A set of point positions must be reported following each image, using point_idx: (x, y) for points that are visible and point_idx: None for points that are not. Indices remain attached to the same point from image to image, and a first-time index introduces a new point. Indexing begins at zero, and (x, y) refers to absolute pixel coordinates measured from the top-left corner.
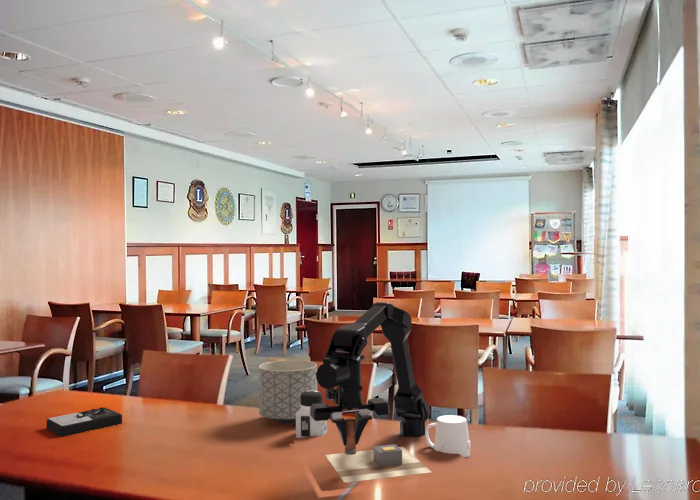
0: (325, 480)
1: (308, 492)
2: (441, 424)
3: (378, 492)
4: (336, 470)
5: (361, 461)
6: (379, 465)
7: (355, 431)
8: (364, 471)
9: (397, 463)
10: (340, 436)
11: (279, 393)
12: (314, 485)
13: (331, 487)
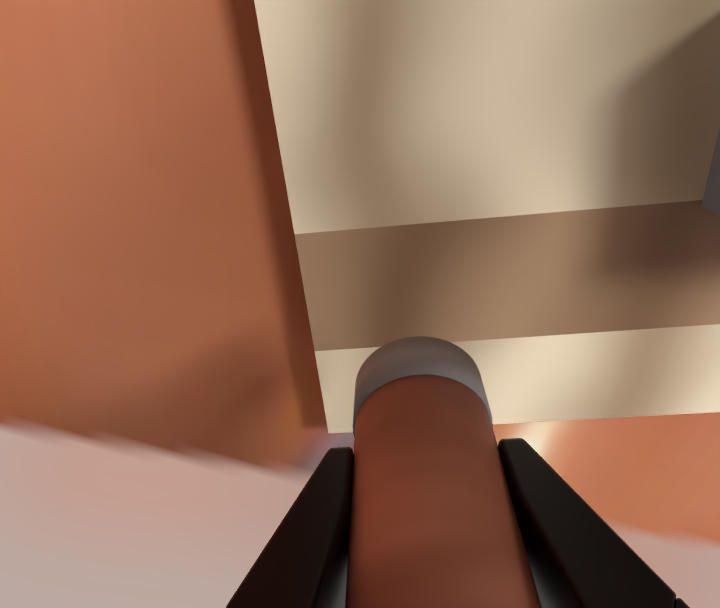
0: (210, 276)
1: (111, 423)
2: None
3: None
4: (295, 212)
5: (600, 6)
6: (708, 203)
7: (560, 604)
8: (525, 282)
9: None
10: (278, 527)
11: None
12: (137, 341)
13: (250, 388)
